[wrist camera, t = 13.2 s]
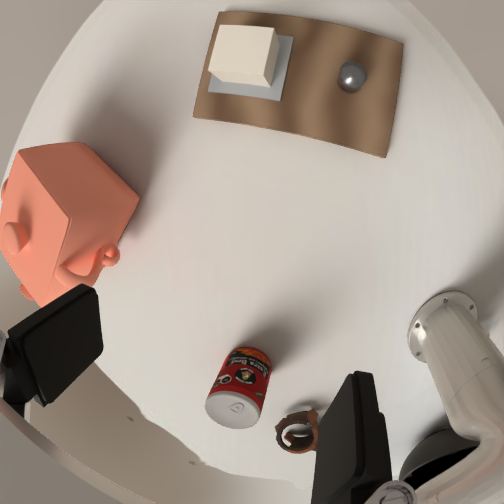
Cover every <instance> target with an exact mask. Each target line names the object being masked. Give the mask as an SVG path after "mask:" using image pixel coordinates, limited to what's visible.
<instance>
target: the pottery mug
mask: <svg viewBox="0 0 504 504" xmlns="http://www.w3.org/2000/svg"><path fill="white" fill-rule="evenodd" d="M317 417H318V413H317V412H315V411H314V410H310V411H309V412H308V411H302V412H297V413H293V414H290V415H287V418H283V419H282V420H281V421H280V422H279V424H278V425H276V426H275V430H276V432H277V436H276V440H277V442H278V444H279V445H280V446H281V448H283V449H284V450H286V451H288V452H291V453H295V454H296V453H298V454H301V453H305V452H308V451H311V450H313V451H316V452H317V440H318V428H319V424H318V423H317V421H316V419H317ZM307 422H308V423H310V424H311V425H312V428H311V429H312V431H313V433H314V434H313V433H312V434H310V435H308V436H305V437H296V436H293V435H291V434H290V433H288V432H287V433H286V435H285V436H284V438H285V439H286V440H287V441H288V442H290V443H291V445H290V446H289V447H288V446H287V445H285V444H284V442H283V441H282V437H281V435H282V432H283V430H284V429H285V428H286V427H287V426H289V425H292V424H304V425H307Z"/></svg>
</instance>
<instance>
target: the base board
mask: <svg viewBox="0 0 504 504" xmlns="http://www.w3.org/2000/svg"><path fill="white" fill-rule="evenodd" d="M220 25H243V26H258V27H269V28H274V29H275V32H276V35H284V36H291V37H294V39H293V44H292V49H291V53H290V58H289V63H288V67H287V72H286V77H285V82H284V86H283V91H282V96H281V100H280V101H275V100H270V99H263V98H257V97H250V96H242V95H234V94H225V93H215V92H208V88H209V84H210V79H211V75H212V73H211V72H210V71H208V68H209V64H210V60H211V56H212V52H213V48H214V44H215V41H216V37H217V33H218V30H219V26H220ZM402 55H403V44H402V43H399V42H397V41H394V40H391V39H388V38H385V37H382V36H379V35H376V34H372V33H369V32H366V31H362V30H358V29H355V28H351V27H347V26H343V25H338V24H334V23H329V22H324V21H319V20H313V19H308V18H301V17H294V16H287V15H278V14H268V13H254V12H219V13H218V17H217V20H216V23H215V27H214V30H213V34H212V37H211V41H210V45H209V48H208V52H207V56H206V60H205V64H204V68H203V72H202V76H201V80H200V85H199V89H198V93H197V98H196V103H195V107H194V112H193V117H195V118H200V119H209V120H217V121H224V122H231V123H238V124H244V125H250V126H256V127H262V128H267V129H272V130H278V131H283V132H287V133H292V134H297V135H301V136H305V137H310V138H314V139H318V140H322V141H326V142H330V143H334V144H337V145H341V146H345V147H348V148H352V149H355V150H358V151H362V152H365V153H368V154H372V155H375V156H378V157H381V158H386V155H387V150H388V146H389V141H390V136H391V131H392V125H393V120H394V114H395V108H396V102H397V95H398V89H399V81H400V73H401V65H402ZM348 61H354V62H357V63H359V64H361V65H362V66H363V67H364V68H365V70H366V72H367V79H366V81H365V83H364V84H363V86H362V87H361V89H360V90H359V91H358V92H356V93H347V92H345V91H343V90H342V89H341V88H340V87H339V85H338V83H337V78H338V74H339V71H340V67H341V66H342V64H344V63H345V62H348Z"/></svg>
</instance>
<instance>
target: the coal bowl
mask: <svg viewBox="0 0 504 504" xmlns="http://www.w3.org/2000/svg"><path fill="white" fill-rule="evenodd" d="M479 445H480V442H479V441H473V440H469V439H466V438H463V437H461V436H459V435H458V434H457V433H456V432H455V431H454V430H453V429H448V430H443V431H440V432H437V433H435V434H433V435H431V436H429V437H427V438H426V439H424V440H423V441H422V442H420V443H419V444H418V445H417V446H416V447H415V448H414V449H413V450H412V451H411V453H410V454H409V455H408V457H407V458H406V460H405V462H404V464H403V466H402V468H401V471H400V475H399V481H403V482H405V483H407V484H409V485H410V486H411V487H412V488H413V489H414V491H416V490H417V489H418V488H419V487H420V486H422V485H423V484H425V483H426V482H428V481H430V480H431V479H433V478H435V477H436V476H438V475H440V474H441V473H443V472H444V471H446V470H448V469H449V468H451V467H452V466H454V465H455V464H457V463H458V462H460V461H461V460H463V459H464V458H466V457H467V456H468V455H469V454H470V453H471V452H473V451H474V450H475V449H476V448H477V447H478V446H479Z"/></svg>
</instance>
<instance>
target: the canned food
mask: <svg viewBox="0 0 504 504" xmlns="http://www.w3.org/2000/svg"><path fill="white" fill-rule="evenodd" d="M270 375H271V364H270V361H269V359H268V357H267V356H266V355H265V354H264V353H262V352H261V351H259V350H257V349H254V348H249V347H243V348H238V349H236V350H234V351H232V352H231V353H230V354H229V355H228V356H227V358H226V359H225V361H224V364H223V366H222V368H221V370H220V372H219V374H218V376H217V378H216V380H215V382H214V384H213V386H212V388H211V390H210V393H209V395H208V397H207V399H206V403H205V410H206V413H207V414H208V416H209V417H210V418H211V419H212V420H214V421H215V422H217V423H218V424H220V425H222V426H225V427H228V428H233V429H245V428H249V427H252V426H254V425H255V424H256V423H257V422H258V420H259V418H260V414H261V411H262V407H263V403H264V399H265V395H266V391H267V387H268V383H269V379H270Z"/></svg>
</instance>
